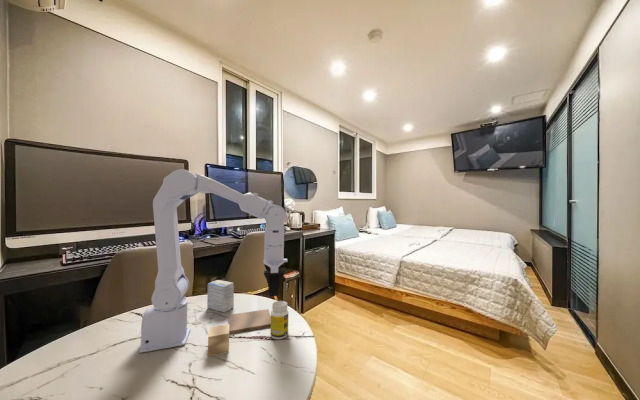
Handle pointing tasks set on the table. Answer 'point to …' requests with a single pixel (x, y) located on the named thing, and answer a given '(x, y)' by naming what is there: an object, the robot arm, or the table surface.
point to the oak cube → (218, 340)
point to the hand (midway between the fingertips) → (273, 290)
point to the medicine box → (220, 295)
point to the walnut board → (249, 321)
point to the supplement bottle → (279, 320)
